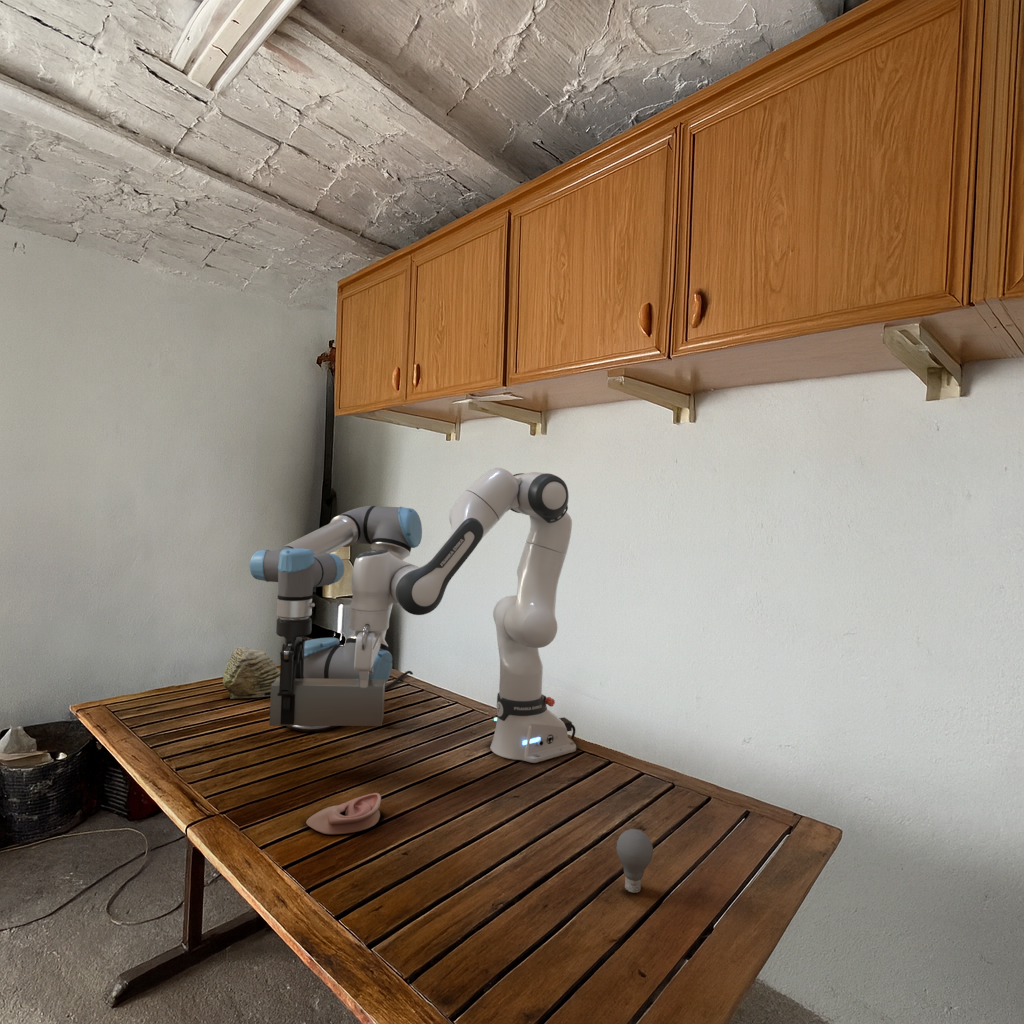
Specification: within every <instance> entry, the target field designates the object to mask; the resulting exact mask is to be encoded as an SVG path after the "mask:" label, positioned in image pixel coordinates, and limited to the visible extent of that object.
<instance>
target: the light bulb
mask: <svg viewBox="0 0 1024 1024" xmlns="http://www.w3.org/2000/svg"><path fill="white" fill-rule="evenodd" d="M615 849H616V854H617V857H618V859H619V861H620V863H621V865H622V867H623V873H624V874H623V875H624V876H625V878H624V888H625V890H627V891H628V892H630V893H634V894H635V893H639V892H640V891H641V889H642V887H641V886H642V879H643V877H644V875H645V871H646V868H647V867H648V866H649V864H650V863H651V861H652V859H653V855H654V847H653V843H652V841H651V838H649V836H648V835H647V834H646V833H645V832H643V831H642V830H641V829H636V828H629V829H627V830H625V831H623V832H622V833H621V834H620V835H619V837H618V839H617V841H616V847H615Z"/></svg>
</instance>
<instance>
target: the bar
mask: <svg viewBox="0 0 1024 1024" xmlns="http://www.w3.org/2000/svg"><path fill="white" fill-rule="evenodd" d="M279 686H280V678H277V679H276V680H275V681H274V683H273V684H272V685H271V696H270V701H269V726H270V727H272V726H273V727H274V726H276V727H278V726H280V727H281V726H283V727H284V726H286V727H287V726H337V727H382V725H383V721H384V718H385V693H386V689H385V686H386V684H385V679H369V683H368V687H367V688H361V687H360V679H321V678H295V684H294V694H295V705H294V724H293V725H280V723H281V696H278V693H279Z"/></svg>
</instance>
